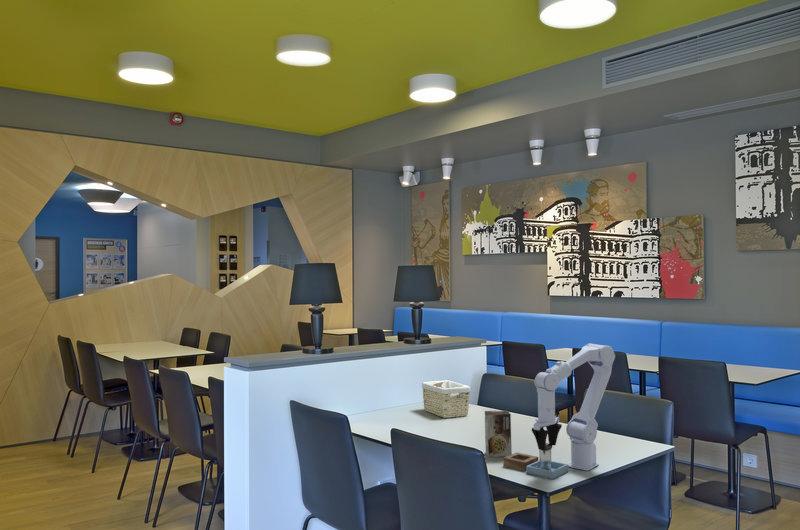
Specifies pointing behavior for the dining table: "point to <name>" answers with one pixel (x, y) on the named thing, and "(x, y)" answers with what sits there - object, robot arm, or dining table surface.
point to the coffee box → (498, 433)
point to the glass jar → (545, 458)
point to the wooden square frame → (519, 461)
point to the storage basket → (446, 398)
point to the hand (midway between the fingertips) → (547, 447)
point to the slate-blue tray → (556, 471)
